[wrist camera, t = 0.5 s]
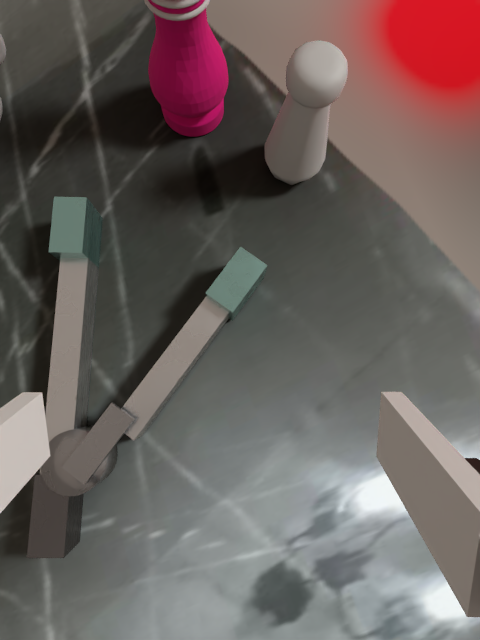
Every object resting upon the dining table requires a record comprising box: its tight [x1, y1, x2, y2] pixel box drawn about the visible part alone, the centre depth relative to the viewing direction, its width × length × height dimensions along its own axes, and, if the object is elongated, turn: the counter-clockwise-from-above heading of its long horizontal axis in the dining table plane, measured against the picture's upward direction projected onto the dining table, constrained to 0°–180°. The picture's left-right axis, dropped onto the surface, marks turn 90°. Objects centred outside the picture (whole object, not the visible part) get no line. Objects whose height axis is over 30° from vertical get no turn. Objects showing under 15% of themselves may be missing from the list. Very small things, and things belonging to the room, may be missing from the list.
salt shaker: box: [265, 40, 348, 185], centre depth 33 cm, size 6×6×13 cm
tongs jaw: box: [62, 247, 267, 485], centre depth 34 cm, size 22×4×4 cm, turn 144°
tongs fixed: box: [27, 197, 117, 558], centre depth 34 cm, size 29×6×4 cm, turn 179°
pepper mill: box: [144, 0, 228, 137], centre depth 30 cm, size 7×7×20 cm
